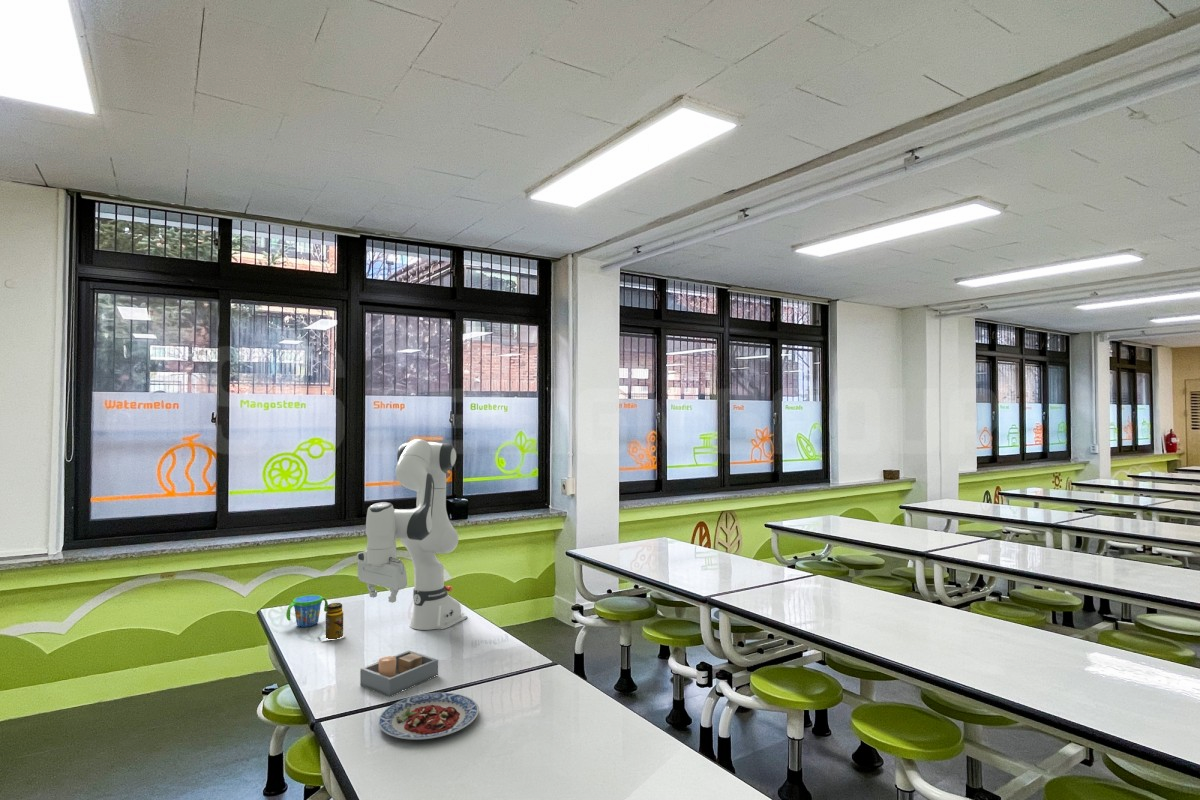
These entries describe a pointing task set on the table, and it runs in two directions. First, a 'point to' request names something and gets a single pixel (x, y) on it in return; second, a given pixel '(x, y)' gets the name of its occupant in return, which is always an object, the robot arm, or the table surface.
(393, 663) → the terracotta cylinder
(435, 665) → the tote
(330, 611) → the condiment
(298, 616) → the snack cup
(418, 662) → the walnut cube
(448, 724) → the ceramic plate
